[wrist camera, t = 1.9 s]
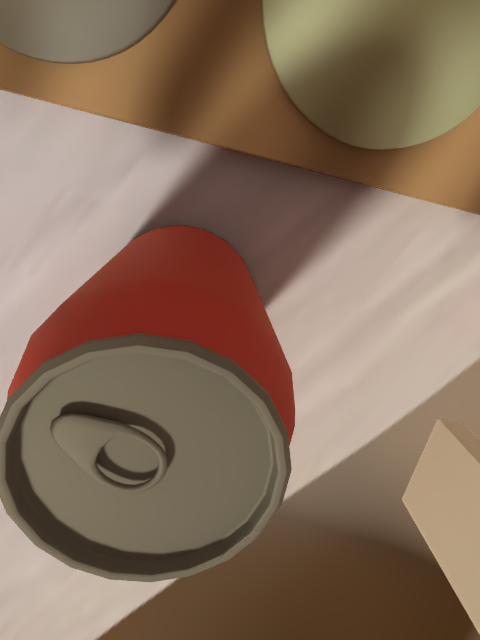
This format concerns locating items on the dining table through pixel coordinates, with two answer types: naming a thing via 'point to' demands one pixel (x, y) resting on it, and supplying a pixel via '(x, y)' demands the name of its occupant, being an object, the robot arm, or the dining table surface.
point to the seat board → (273, 80)
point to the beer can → (151, 415)
